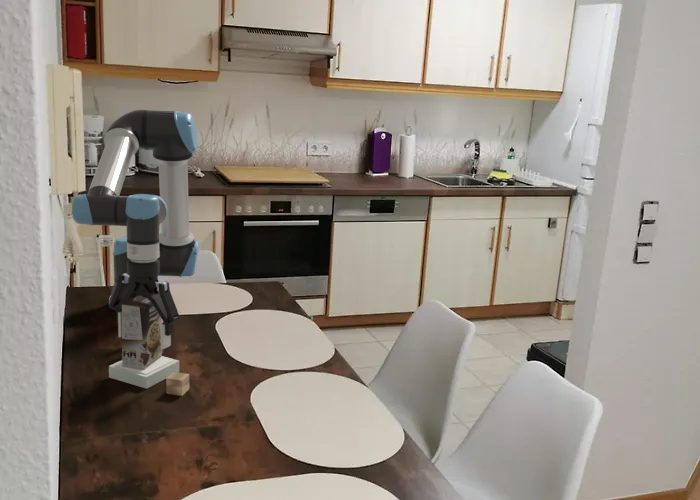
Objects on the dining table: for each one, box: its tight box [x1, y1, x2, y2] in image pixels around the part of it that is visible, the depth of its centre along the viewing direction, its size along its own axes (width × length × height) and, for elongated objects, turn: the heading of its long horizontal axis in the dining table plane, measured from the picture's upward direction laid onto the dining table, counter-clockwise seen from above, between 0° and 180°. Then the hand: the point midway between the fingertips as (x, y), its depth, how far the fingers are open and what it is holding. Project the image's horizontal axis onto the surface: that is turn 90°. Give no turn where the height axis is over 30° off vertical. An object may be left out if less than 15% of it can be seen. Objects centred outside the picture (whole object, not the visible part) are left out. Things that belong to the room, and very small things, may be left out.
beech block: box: [165, 371, 190, 397], centre depth 160 cm, size 4×4×4 cm
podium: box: [108, 355, 180, 389], centre depth 168 cm, size 12×12×3 cm
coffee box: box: [121, 296, 163, 369], centre depth 166 cm, size 9×6×16 cm
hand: (144, 341), depth 166 cm, fingers open, 13 cm apart
